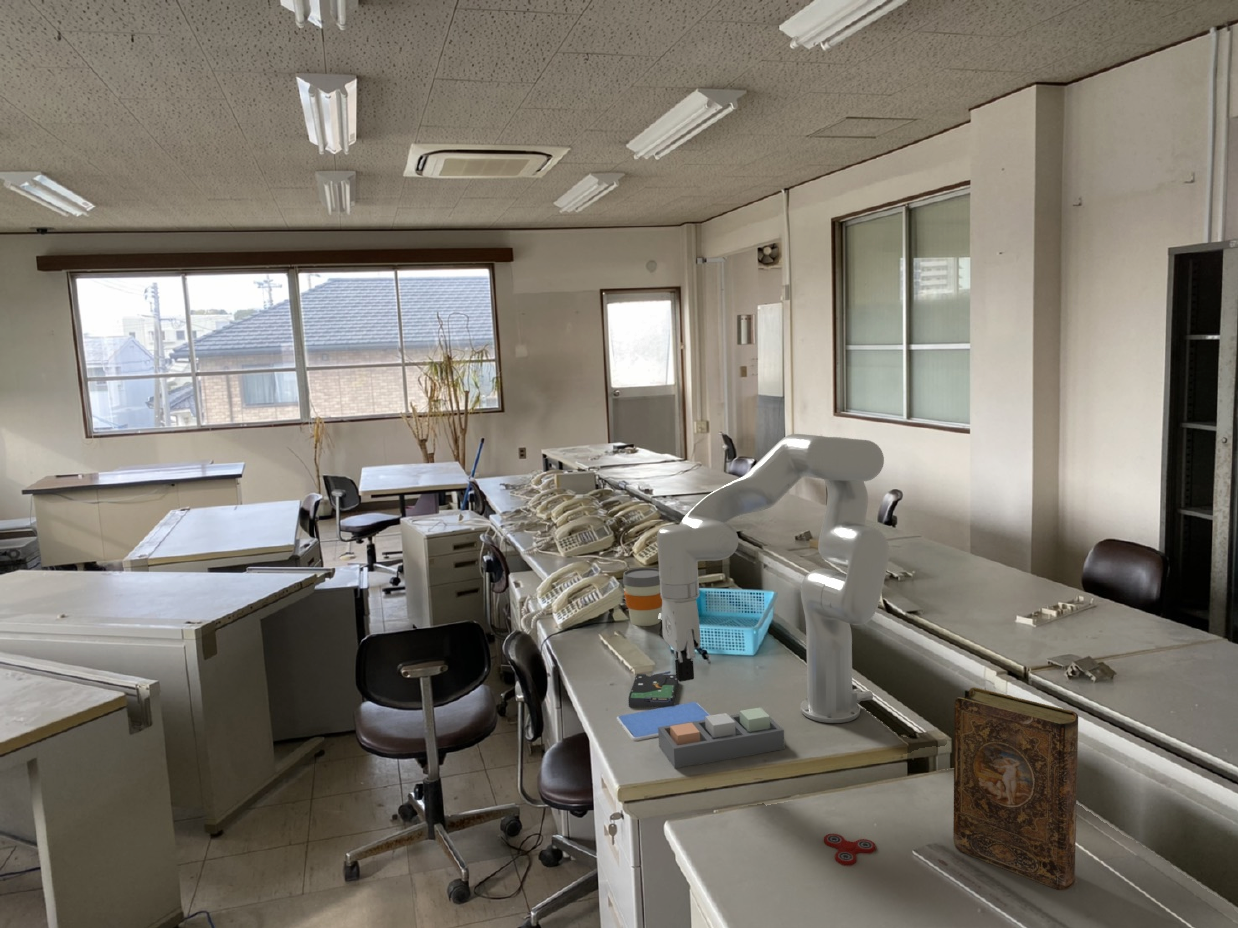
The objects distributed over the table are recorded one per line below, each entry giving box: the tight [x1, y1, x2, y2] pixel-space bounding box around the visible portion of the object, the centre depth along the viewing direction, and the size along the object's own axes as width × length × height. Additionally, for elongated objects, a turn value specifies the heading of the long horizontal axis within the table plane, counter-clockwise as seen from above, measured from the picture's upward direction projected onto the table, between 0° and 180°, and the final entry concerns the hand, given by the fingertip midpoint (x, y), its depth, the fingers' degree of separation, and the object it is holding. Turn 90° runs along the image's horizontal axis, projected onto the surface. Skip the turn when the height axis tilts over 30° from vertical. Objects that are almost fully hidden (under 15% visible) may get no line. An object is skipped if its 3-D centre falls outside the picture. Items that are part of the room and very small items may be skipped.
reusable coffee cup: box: [622, 567, 662, 627], centre depth 252 cm, size 12×13×15 cm
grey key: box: [705, 712, 735, 738], centre depth 169 cm, size 5×5×2 cm
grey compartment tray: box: [658, 713, 785, 769], centre depth 169 cm, size 23×10×4 cm, turn 105°
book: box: [952, 686, 1079, 891], centre depth 126 cm, size 16×6×25 cm, turn 45°
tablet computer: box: [616, 701, 711, 742], centre depth 182 cm, size 19×13×1 cm, turn 108°
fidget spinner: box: [823, 833, 877, 866], centre depth 133 cm, size 8×7×1 cm
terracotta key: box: [670, 723, 700, 746], centre depth 167 cm, size 5×5×2 cm
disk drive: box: [628, 673, 679, 709], centre depth 197 cm, size 10×3×15 cm
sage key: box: [739, 707, 771, 732], centre depth 170 cm, size 5×5×2 cm
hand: (685, 678), depth 166 cm, fingers closed
